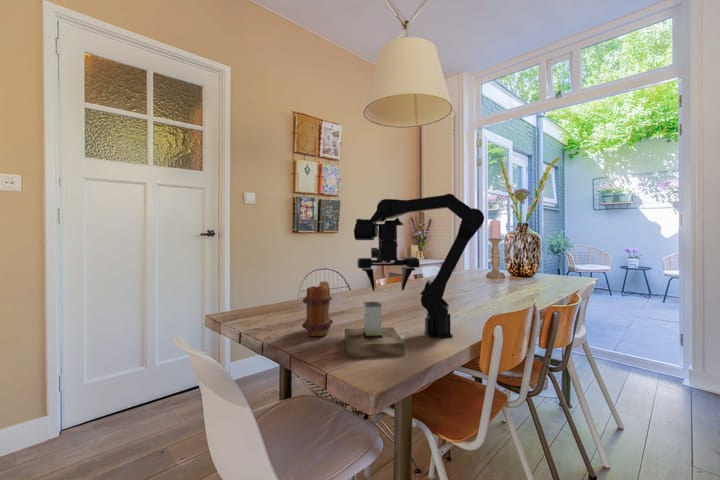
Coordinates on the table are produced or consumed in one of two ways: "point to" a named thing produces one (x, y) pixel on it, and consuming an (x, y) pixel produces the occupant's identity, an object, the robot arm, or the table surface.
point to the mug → (318, 310)
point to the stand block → (373, 343)
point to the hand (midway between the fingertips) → (388, 290)
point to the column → (372, 318)
